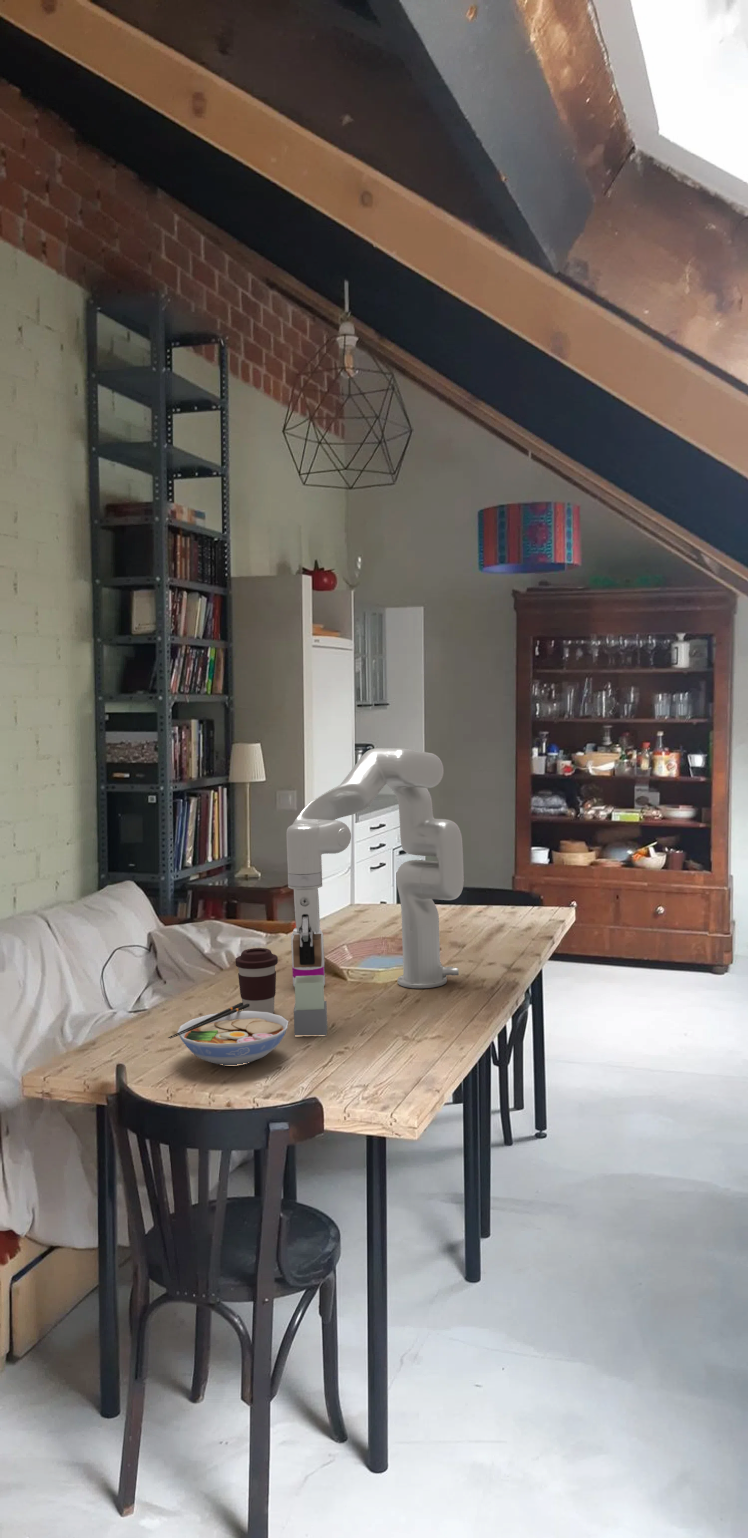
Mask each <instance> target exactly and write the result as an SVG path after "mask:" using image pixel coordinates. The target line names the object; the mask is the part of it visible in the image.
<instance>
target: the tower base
mask: <svg viewBox="0 0 748 1538" xmlns="http://www.w3.org/2000/svg"><path fill="white" fill-rule="evenodd" d="M327 1005H328V1004H327V1000H324V1009H315V1010H296V1007H295V1006H294V1007H293V1023H294V1024H293V1026H294V1027H293V1028H294V1036H295V1035H327V1034H328V1007H327ZM327 1036H328V1035H327Z"/></svg>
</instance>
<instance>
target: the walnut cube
mask: <svg viewBox="0 0 748 1538" xmlns="http://www.w3.org/2000/svg"><path fill="white" fill-rule="evenodd" d="M299 946H300V934H298V935H294V938H293V961H294V968H295V967H321V964H322V946H321V934H313V946H314V959H315V963H314V964H313V965H300V953H299Z"/></svg>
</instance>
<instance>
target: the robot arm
mask: <svg viewBox="0 0 748 1538" xmlns="http://www.w3.org/2000/svg"><path fill="white" fill-rule="evenodd" d="M443 777H444V765H443V762H442V760H441V759H440V757H439V756H438V755H436V754H435V753H432V752H427V751H422V750H421V751H420V750H414V749H409V748H403V747H398V748H397V747H395V748H394V747H391V748H390V747H389V748H388V747H387V748H386V747H382V748H381V747H377V748H371V749H369V750H367V751H366V752H364V753H363V754H362V756H361V757H360V759H358V761H357V762H356V763H355V764H354V766H353V768H352V769H351V770H350V771H349V772H348V774H347V775H346V777H344V779H343V780H342V782H341V783H340V784H339V785H338V786H335V787H332V788H331V789H329V790H328V791H326V792H324V793H323V794H321V795H319V796H317V797H316V798H313V800H311V801H310V802H309V803H308V804H306V805H305V807H304V808H303V809H302V810H301V811H300V813H298V815H297V817H296V818H295V820H294V821H293V823H292V824H291V825H289V826H288V827H287V829H286V834H285V835H286V855H287V856H286V858H287V861H286V863H287V887H288V888H289V889H291V890H293V899H294V900H293V901H294V903H293V905H294V916H295V917H294V920H295V928H296V929H297V933H299V934H300V946H299V953H300V965H313V964H314V963H315V959H314V946H313V934H314V932H316V933H318V932H319V929H320V928H321V923H320V921H321V919H320V901H319V900H320V898H319V897H320V896H319V889H320V888H322V887H323V867H322V866H323V865H322V863H323V862H322V861H323V860H322V855H324V854H331V855H333V854H335V855H336V854H339V853H342V852H344V851H345V850H346V849H348V846H350V844H351V841H352V833H351V830H350V827H349V826H348V825H347V824H346V823H344V822H343V821H340V820H338V819H341V818H345V817H349V816H352V815H353V816H354V815H356V814H358V813H361V812H363V811H366V810H367V809H368V808H369V807H370V806H371V805H372V803H373V802H374V800H375V799H376V798H377V796H378V795H379V793H380V792H381V791H382V789H383V788H384V786H385V785H387V786H388V787H389V788H390V790H391V791H392V792H393V794H394V795H395V797H396V799H397V804H398V815H399V816H398V817H399V833H400V834H399V835H400V836H399V837H400V844H401V848H402V850H403V851H404V853H406V854H408V855H411V856H412V855H413V856H421V857H433V858H434V857H436V858H437V860H435V861H433V860H425V859H423V860H422V859H412V860H407V861H405V862H402V863H401V864H400V865H399V867H398V869H397V871H396V877H395V879H396V881H395V882H396V886H397V891H398V895H399V901H400V911H401V912H400V913H401V914H400V915H401V937H402V939H401V940H402V942H401V943H402V944H401V945H402V969H403V971H402V972H403V974H402V975H400V976H398V977H397V984H398V985H399V986H401V987H403V988H410V989H432V988H438V987H441V986H444V985H445V984H446V983H448V982H447V981H448V979H447V978H448V977H447V976H459V972H460V971H459V967H453V966H444V965H442V962H441V949H440V947H441V946H440V945H441V943H440V916H439V915H440V913H439V911H438V908H437V906H436V904H435V902H434V900H437V901H439V900H441V901H443V900H444V901H453V900H456V899H458V898H459V897H460V895H461V894H462V891H463V889H464V883H465V881H464V879H465V877H464V875H465V874H464V853H463V852H464V849H463V836H462V832H461V830H460V829H461V828H460V827H459V825H458V824H457V823H456V822H454V821H453V820H450V819H448V818H447V819H445V818H435V817H434V812H433V811H434V810H433V800H432V799H433V798H432V796H431V794H430V793H431V792H430V791H429V790H428V789H431V788H432V789H433V788H434V787H436V786H438V785H439V784H440V783H441V781H442V779H443Z"/></svg>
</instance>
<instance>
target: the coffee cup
mask: <svg viewBox="0 0 748 1538" xmlns="http://www.w3.org/2000/svg"><path fill="white" fill-rule="evenodd" d="M278 958H279V957H278V956H277V955H276V954H275V953H272V950H271V949H269V948H267V947H266V948H265V947H254V948H248V949H244V950H243V951H241V954H240V955H238V956H237V957H236V958H235V966H236V967H237V968H238V974H237V977H238V983H239V986H238V987H239V994H240V995H239V996H240V998H241V1003H243V1005H245V1004H247V1003H248V1004H249V1005H250V1007H247V1008H245V1009H242V1011H258V1012H268V1013H272V1014H274V1012H275V996H276V993H277V991H276V988H277V987H276V986H277V970H276V965H277V964H278V963H279V961H278V960H279V959H278Z"/></svg>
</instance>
